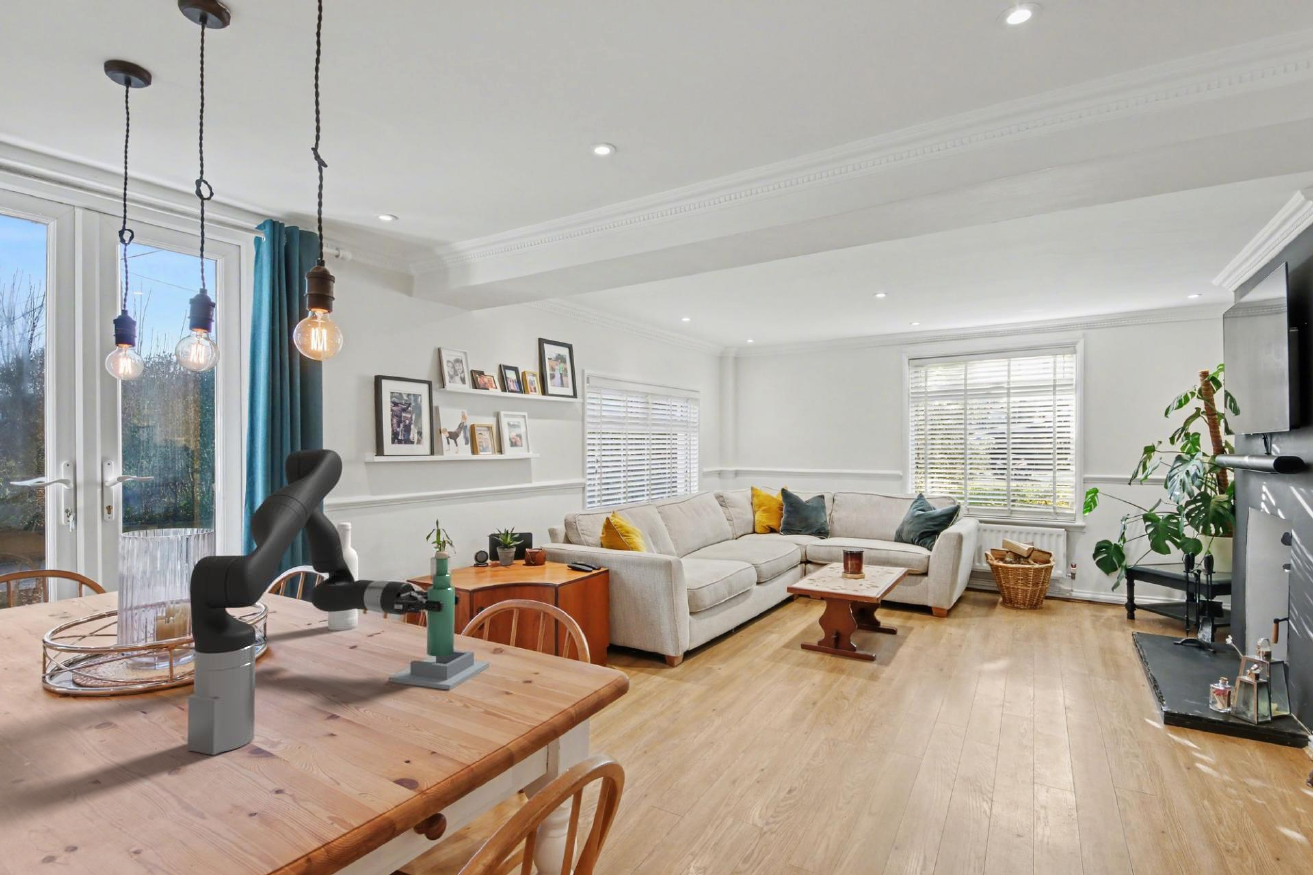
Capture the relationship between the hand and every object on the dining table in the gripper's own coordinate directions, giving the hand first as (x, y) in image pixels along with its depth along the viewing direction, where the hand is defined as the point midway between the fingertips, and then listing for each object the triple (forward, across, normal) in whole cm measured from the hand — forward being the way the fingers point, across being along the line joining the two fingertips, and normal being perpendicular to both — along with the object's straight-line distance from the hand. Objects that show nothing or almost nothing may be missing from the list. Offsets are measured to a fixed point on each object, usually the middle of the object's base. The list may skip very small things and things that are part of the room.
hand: (450, 603), depth 158 cm
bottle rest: (-2, 0, +16) cm, 17 cm away
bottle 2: (-2, 0, +12) cm, 12 cm away
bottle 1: (-52, +25, +17) cm, 60 cm away
